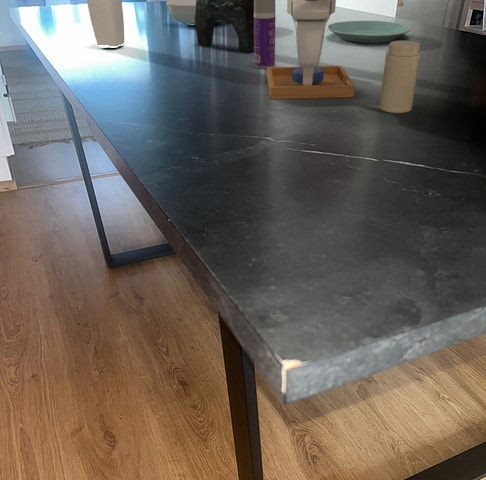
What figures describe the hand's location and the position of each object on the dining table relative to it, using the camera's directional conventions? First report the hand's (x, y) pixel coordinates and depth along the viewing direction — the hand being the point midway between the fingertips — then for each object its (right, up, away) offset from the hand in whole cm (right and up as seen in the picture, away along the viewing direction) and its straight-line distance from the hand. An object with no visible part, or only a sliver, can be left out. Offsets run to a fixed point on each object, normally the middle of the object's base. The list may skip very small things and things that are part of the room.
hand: (307, 80), depth 104 cm
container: (-8, +9, +16) cm, 20 cm away
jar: (+14, -9, -12) cm, 20 cm away
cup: (-48, +23, +36) cm, 64 cm away
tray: (0, -1, +1) cm, 1 cm away
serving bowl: (-26, +43, +63) cm, 80 cm away
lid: (0, +1, -1) cm, 2 cm away
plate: (+21, +27, +39) cm, 52 cm away
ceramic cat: (-17, +21, +32) cm, 42 cm away
